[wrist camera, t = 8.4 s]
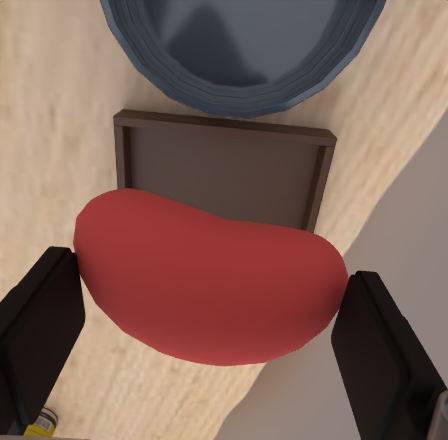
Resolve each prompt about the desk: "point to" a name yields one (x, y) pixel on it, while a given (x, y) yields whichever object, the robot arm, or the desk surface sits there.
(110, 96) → the desk surface
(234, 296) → the red kidney bean
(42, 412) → the supplement bottle
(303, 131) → the tray
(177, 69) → the bowl
